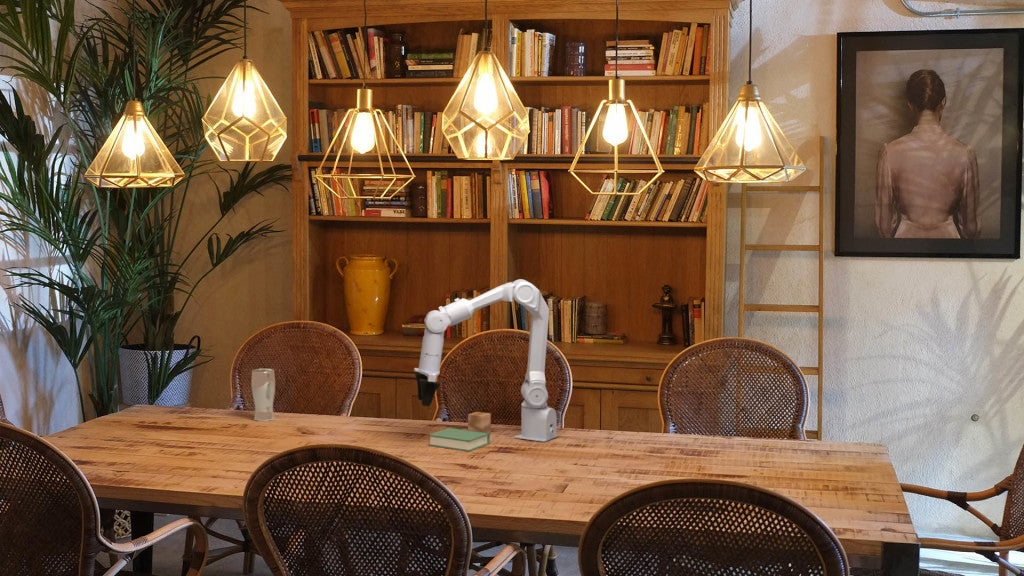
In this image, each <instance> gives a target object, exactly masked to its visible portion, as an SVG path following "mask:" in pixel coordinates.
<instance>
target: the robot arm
mask: <svg viewBox="0 0 1024 576" xmlns="http://www.w3.org/2000/svg"><path fill="white" fill-rule="evenodd" d="M453 300H454V301H453V302H451V303H449V304H447V305H445V306H442V305H441V306H439V307H438V310H436V309H434V310H431V311H429V312H427V314H426V316H425V318H424V321H423V322H424V324H425V328H424V333H423V334H424V335H423V337H422V343H421V350H420V357H419V363H418V367H414V368H413V371H414V372H418V373H414V375H415V379H416V384H417V399H418V400H419V401H421V405H422V406H424V407H431V404H432V402H433V399H434V397H435V394H436V392H437V390H438V389H439V387H440V386H441V382H440V381H436V379H437V377H438V376H439V375H440V374H441V373H440V372H441V371H440V367H441V361H442V356H443V355H442V354H443V349H444V348H443V347H444V342H445V339H444V336H445V331H446V330H447V328H448V327H453V326H455V325H457V324H460V323H462V322H464V321H466V320H468V319H472V317H473V314H474V313H475V311H478V310H480V309H483V308H485V307H487V306H490V305H493V304H495V303H498V302H500V301H503V302H510V303H511V302H513V301H516V302H517V303H518V304H519V305H521V306H523V307H524V308H525V310H527V312H529V313H530V327H529V340H528V341H529V343H528V356H527V366H526V367H527V368H526V373H525V376H524V377H525V379H524V381H523V383H522V385H521V388H520V394H521V397H522V398H523V399H524V400H523V402H522V403H521V405H520V406H521V408H520V409H521V412H520V413H521V414H520V415H521V426H520V427H521V433H520V434H518V435H515V436H514V437H515V439H519V440H528V441H536V442H544V443H545V442H547V441H551V440H552V439H555V438H557V437H558V436H559V435H558V434H557V433H558V432H557V431H558V430H557V429H558V426H557V421H558V419H557V418H558V417H557V412H556V409H555V408H552V407H549V406H548V403H547V401H548V398H549V392H548V389H547V387H546V384H547V383H546V382H547V381H546V376H545V374H546V373H545V372H546V371H545V370H546V357H547V356H546V355H547V347H548V346H547V345H548V343H547V342H548V334H549V333H548V332H549V331H548V330H549V319H550V318H549V316H550V308H549V306H548V304H547V302H546V301H545V299H544V297H543V295H542V294H541V291H540V289H538V288H537V287H536V286H535V285H534V284H533V283H531V282H529V281H528V280H525V279H522V278H520V279H516V280H514V281H510V282H506V283H504V284H501V285H499V286H496V287H494V288H493V289H490V290H488V291H486V292H484V293H482V294H480V295H478V296H476V297H474V298H472V299H466V298H463V297H462V298H461V299H460V298H459V297H457V298H455V299H453Z"/></svg>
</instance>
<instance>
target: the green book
mask: <svg viewBox="0 0 1024 576" xmlns="http://www.w3.org/2000/svg"><path fill="white" fill-rule="evenodd" d="M428 436H429V438H430V439H429V441H430V442H429V444H428V446H429V447H435V448H436V447H437V448H440V449H441V448H443V449H450V450H454V451H455V450H456V451H462V452H468V453H470V452H472V451H475V450H479V449H480V448H483V447H486V446H488V445H490V444H491V439H490V436H491V434H490V433H485V432H477V431H470V430H468V429H464V428H463V429H461V428H454V427H449V428H445V429H442V430H440V431H436V432H433V433H431V434H429V435H428Z"/></svg>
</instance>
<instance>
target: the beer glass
mask: <svg viewBox="0 0 1024 576" xmlns="http://www.w3.org/2000/svg"><path fill="white" fill-rule="evenodd" d="M275 375H276V374H275V369H274V368H266V367H265V368H256V369H252V370H251V393H252V397H253V403H254V415H253V421H255V420H258V421H257V422H269V420H270V421H273V419H274V420H275V414H274V400H275V393H276V377H275Z"/></svg>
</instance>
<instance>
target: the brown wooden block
mask: <svg viewBox="0 0 1024 576" xmlns="http://www.w3.org/2000/svg"><path fill="white" fill-rule="evenodd" d="M491 417H492V414H491V413H490V412H482V411H476V412H475V411H474V412H472V413H469V414H467V430H470V431H477V432H485V433H490V435H491V434H492V433H491V432H492V431H491V426H492V425H491V421H492V420H491Z"/></svg>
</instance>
